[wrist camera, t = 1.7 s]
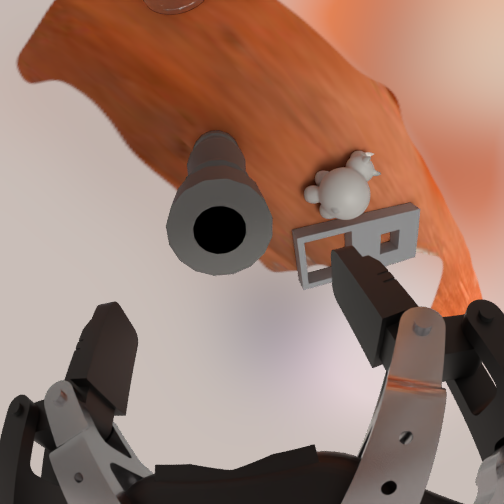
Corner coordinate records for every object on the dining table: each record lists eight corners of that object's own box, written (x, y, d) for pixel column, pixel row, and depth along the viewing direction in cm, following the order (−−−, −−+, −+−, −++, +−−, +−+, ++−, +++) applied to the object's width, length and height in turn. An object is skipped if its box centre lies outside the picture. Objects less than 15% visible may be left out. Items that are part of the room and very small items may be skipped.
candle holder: (241, 133, 35) (289, 182, 14) (234, 176, 38) (265, 282, 17) (196, 127, 34) (164, 167, 12) (190, 171, 37) (160, 274, 15)
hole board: (291, 229, 43) (296, 238, 41) (410, 202, 44) (420, 208, 41) (298, 279, 49) (303, 290, 46) (406, 249, 49) (415, 256, 46)
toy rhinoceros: (360, 171, 43) (400, 172, 35) (322, 225, 42) (361, 235, 34) (337, 138, 39) (377, 133, 32) (294, 193, 38) (333, 196, 31)
